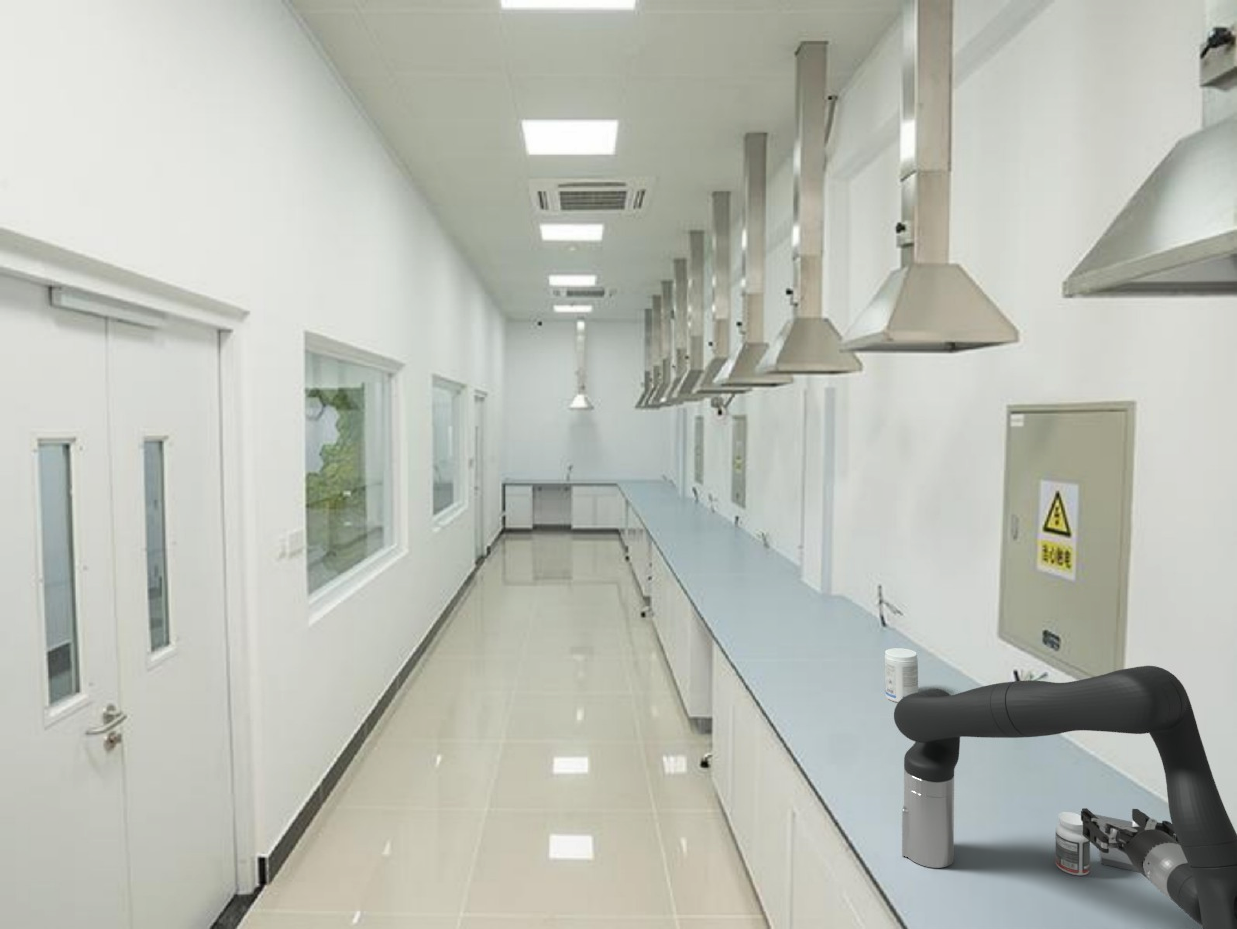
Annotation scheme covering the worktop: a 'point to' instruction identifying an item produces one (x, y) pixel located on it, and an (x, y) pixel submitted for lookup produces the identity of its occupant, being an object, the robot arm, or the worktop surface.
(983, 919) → the worktop surface
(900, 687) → the supplement tub
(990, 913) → the worktop surface
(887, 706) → the worktop surface
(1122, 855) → the grey pegged board
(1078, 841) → the pill bottle
